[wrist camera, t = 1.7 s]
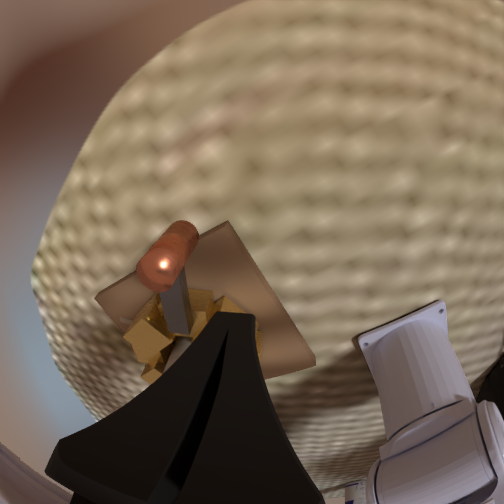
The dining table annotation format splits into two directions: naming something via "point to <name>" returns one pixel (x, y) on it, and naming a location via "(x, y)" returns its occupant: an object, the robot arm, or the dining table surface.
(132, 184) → the dining table surface
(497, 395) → the coffee maker
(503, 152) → the dining table surface
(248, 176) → the dining table surface
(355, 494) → the energy drink
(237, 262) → the square socket base
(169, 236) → the golden gear lever
